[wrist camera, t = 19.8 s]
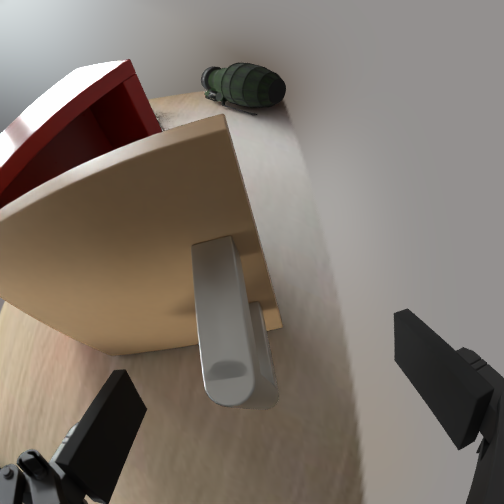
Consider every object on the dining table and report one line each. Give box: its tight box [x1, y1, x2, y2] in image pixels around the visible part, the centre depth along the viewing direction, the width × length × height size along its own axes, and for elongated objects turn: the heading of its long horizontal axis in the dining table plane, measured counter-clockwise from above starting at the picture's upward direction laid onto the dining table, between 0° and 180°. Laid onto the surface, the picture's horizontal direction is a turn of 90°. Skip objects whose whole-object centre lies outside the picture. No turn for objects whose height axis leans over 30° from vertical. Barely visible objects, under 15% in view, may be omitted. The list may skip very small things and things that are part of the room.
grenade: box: [201, 63, 286, 115], centre depth 32 cm, size 6×6×12 cm
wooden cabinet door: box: [0, 114, 283, 410], centre depth 11 cm, size 6×13×15 cm, turn 100°
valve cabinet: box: [0, 59, 162, 209], centre depth 17 cm, size 8×13×15 cm, turn 145°
